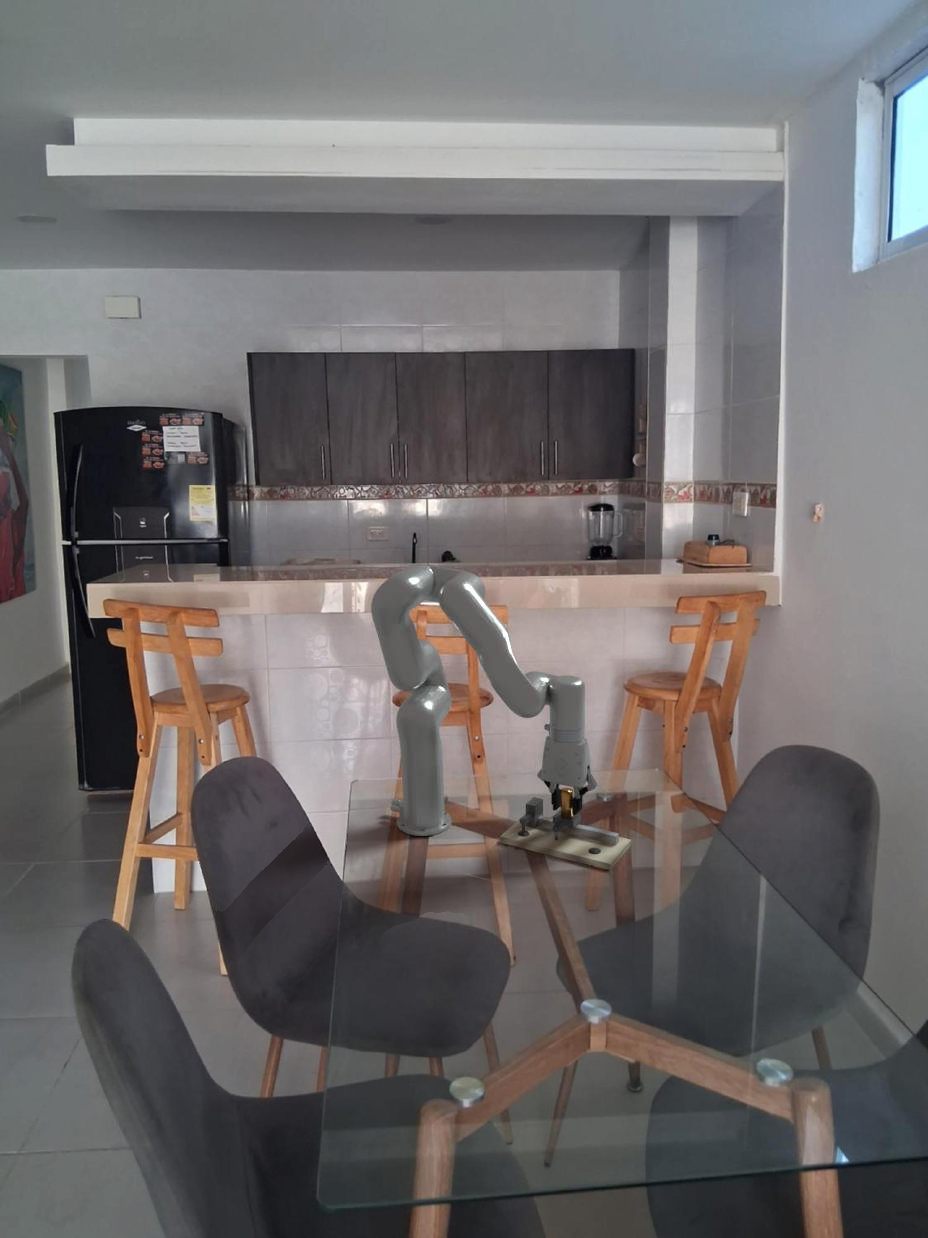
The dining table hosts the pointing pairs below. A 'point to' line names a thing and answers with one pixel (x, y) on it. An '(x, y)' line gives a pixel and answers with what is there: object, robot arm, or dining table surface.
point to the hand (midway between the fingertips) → (566, 809)
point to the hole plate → (565, 839)
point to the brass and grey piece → (565, 813)
